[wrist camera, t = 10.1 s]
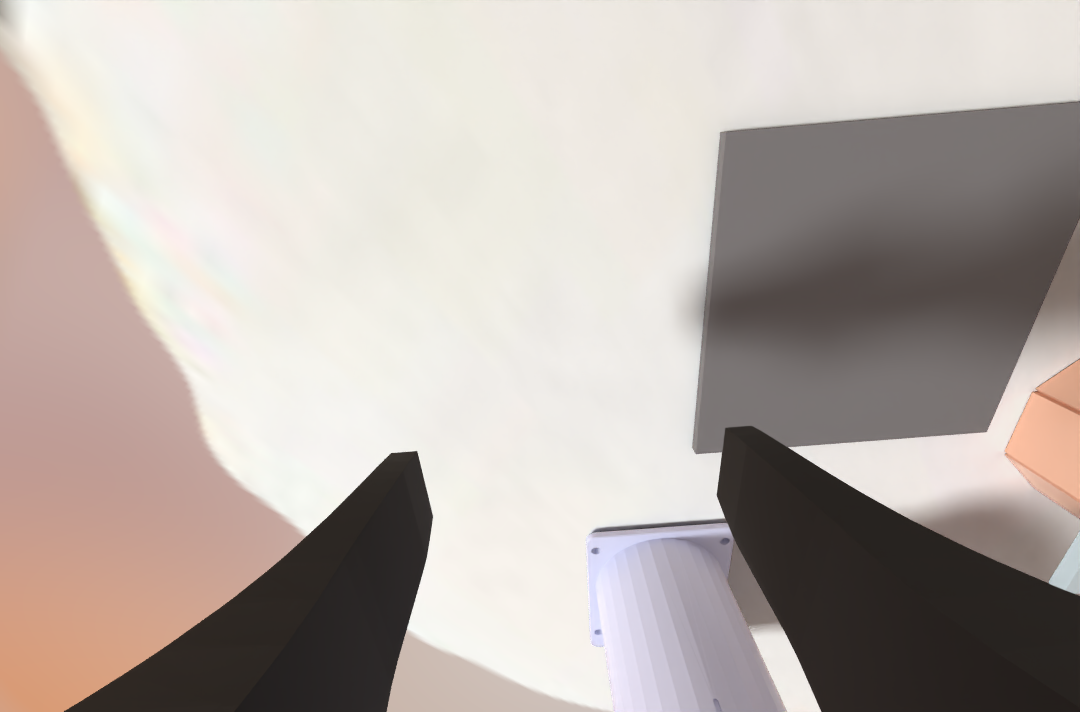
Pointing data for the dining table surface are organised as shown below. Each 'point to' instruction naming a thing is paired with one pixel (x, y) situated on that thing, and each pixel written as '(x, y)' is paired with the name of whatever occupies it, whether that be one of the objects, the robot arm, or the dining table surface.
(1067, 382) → the bowl
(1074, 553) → the cover
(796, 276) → the mat
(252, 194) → the dining table surface
